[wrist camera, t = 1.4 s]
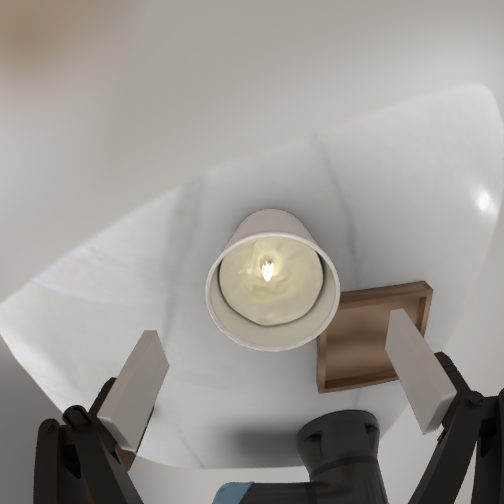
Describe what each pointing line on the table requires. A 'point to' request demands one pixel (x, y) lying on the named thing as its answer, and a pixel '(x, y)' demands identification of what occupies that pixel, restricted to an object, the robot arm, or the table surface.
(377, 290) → the tray
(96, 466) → the robot arm
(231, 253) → the candle holder
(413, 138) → the table surface
